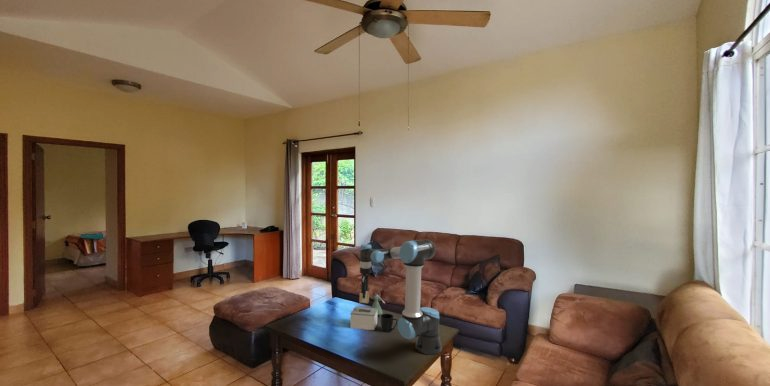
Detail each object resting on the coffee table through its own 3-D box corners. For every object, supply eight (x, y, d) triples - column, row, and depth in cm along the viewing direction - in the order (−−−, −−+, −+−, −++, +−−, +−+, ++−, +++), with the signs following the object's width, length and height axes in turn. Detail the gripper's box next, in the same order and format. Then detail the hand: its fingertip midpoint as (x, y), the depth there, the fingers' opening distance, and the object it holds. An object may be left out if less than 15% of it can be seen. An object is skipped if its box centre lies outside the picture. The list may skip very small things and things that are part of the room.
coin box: (377, 322, 224) (377, 308, 224) (373, 330, 212) (374, 315, 212) (354, 320, 227) (355, 306, 226) (350, 328, 215) (350, 313, 215)
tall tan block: (368, 301, 220) (369, 293, 220) (368, 303, 217) (368, 294, 217) (360, 301, 221) (360, 292, 221) (359, 302, 218) (359, 293, 218)
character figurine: (362, 315, 236) (363, 291, 236) (367, 311, 244) (368, 288, 243) (382, 319, 229) (382, 294, 229) (386, 315, 237) (387, 291, 237)
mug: (393, 335, 205) (394, 320, 205) (378, 331, 211) (378, 316, 211) (400, 331, 212) (400, 316, 212) (384, 326, 218) (385, 312, 218)
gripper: (362, 264, 227) (361, 297, 228) (357, 269, 211) (356, 305, 212) (373, 264, 226) (372, 298, 227) (368, 270, 210) (367, 306, 211)
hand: (364, 301), depth 219 cm, fingers closed on tall tan block, 3 cm apart
